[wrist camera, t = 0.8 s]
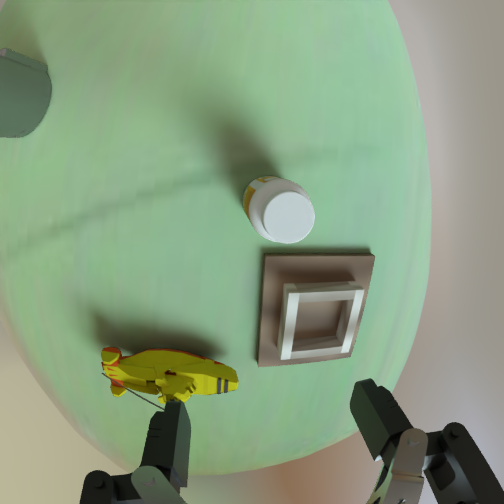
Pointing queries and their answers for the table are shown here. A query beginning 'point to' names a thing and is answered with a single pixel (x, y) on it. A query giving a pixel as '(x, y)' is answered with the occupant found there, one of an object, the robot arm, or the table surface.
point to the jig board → (311, 306)
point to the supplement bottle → (278, 209)
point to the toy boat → (166, 374)
